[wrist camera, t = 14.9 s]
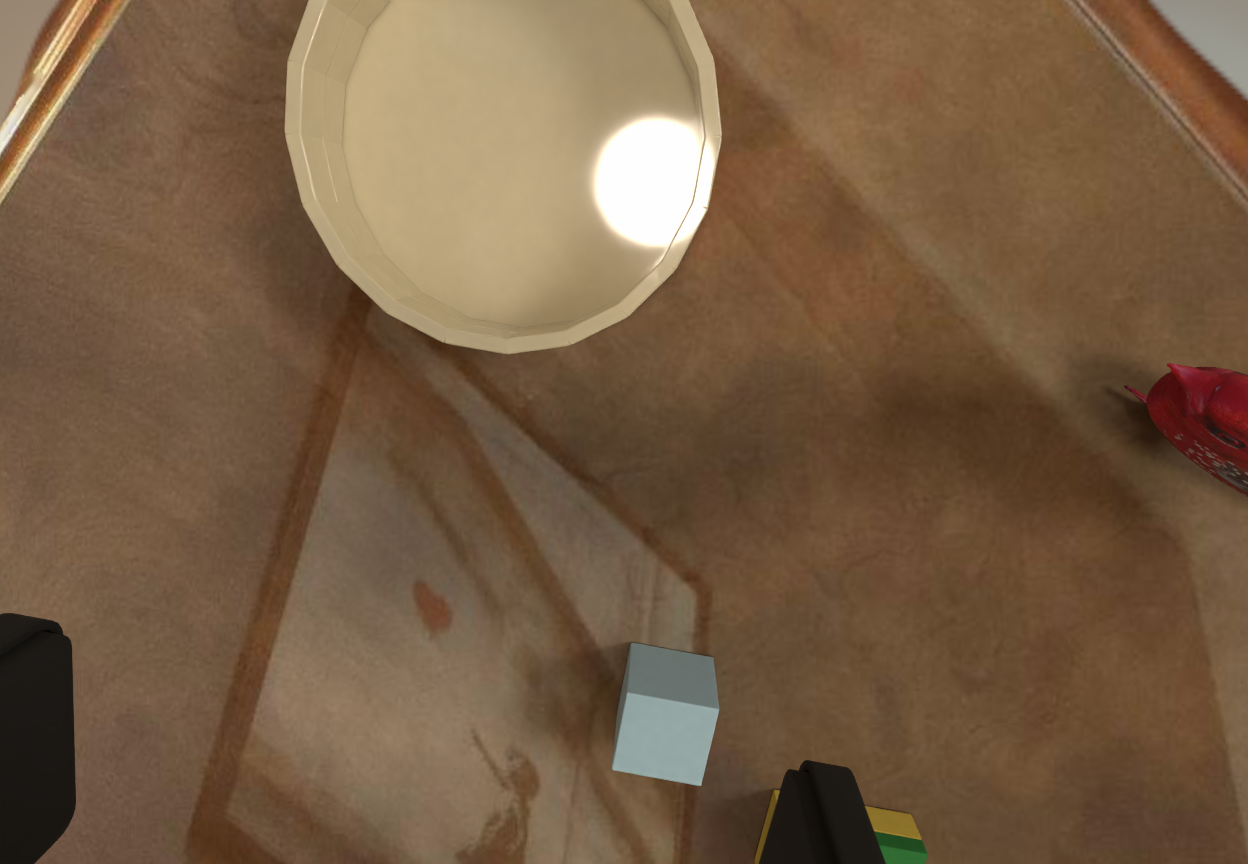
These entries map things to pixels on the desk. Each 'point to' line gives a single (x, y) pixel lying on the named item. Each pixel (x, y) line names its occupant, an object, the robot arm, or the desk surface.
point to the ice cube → (666, 714)
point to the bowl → (504, 157)
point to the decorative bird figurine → (1204, 418)
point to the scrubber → (877, 835)
